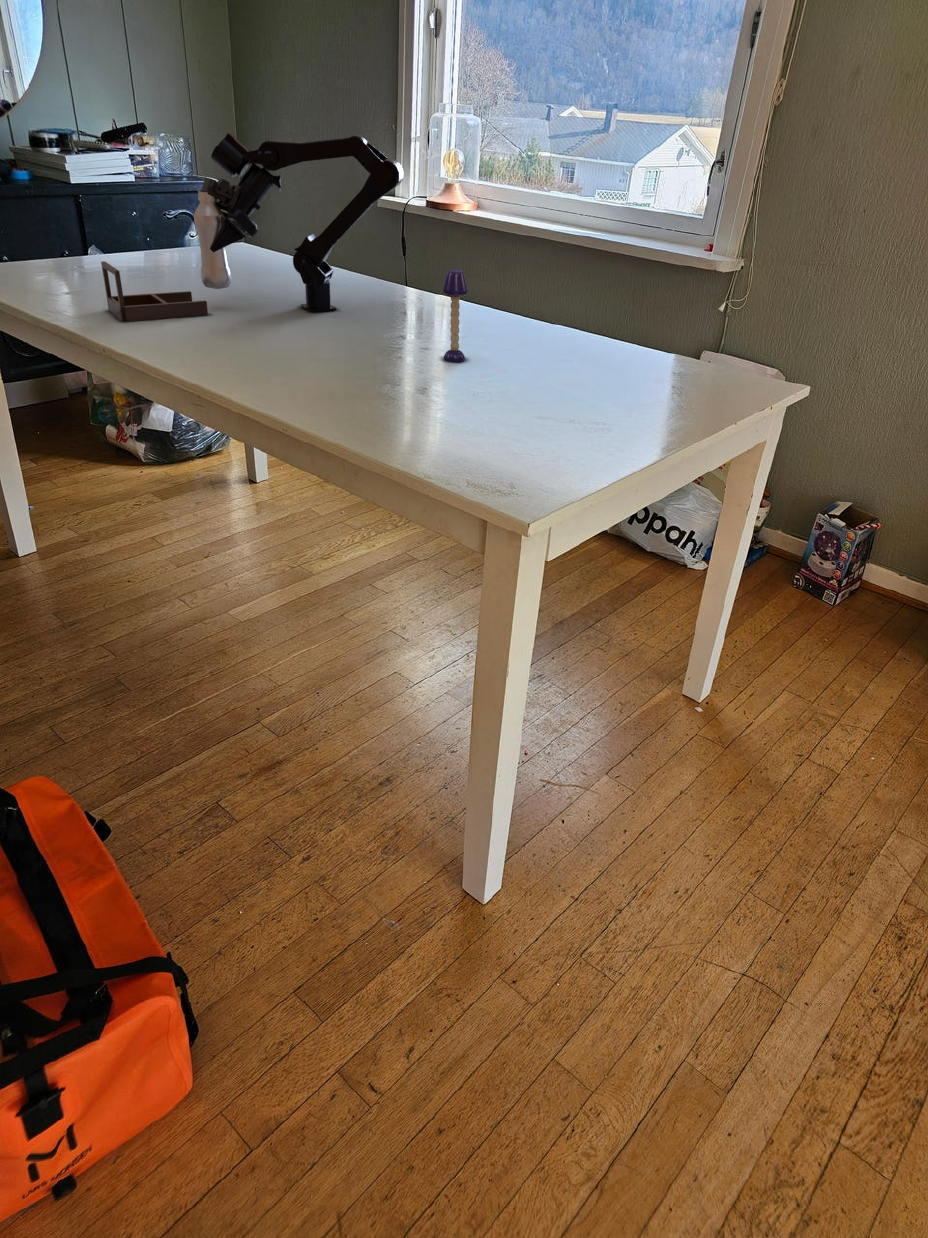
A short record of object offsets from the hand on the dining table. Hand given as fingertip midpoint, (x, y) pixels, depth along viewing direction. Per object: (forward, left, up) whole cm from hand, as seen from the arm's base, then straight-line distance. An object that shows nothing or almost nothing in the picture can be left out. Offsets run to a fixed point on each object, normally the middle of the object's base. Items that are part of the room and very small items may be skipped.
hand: (206, 248), depth 188 cm
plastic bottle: (0, -2, -9) cm, 9 cm away
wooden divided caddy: (0, +12, -13) cm, 18 cm away
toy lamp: (-57, -29, -13) cm, 65 cm away
